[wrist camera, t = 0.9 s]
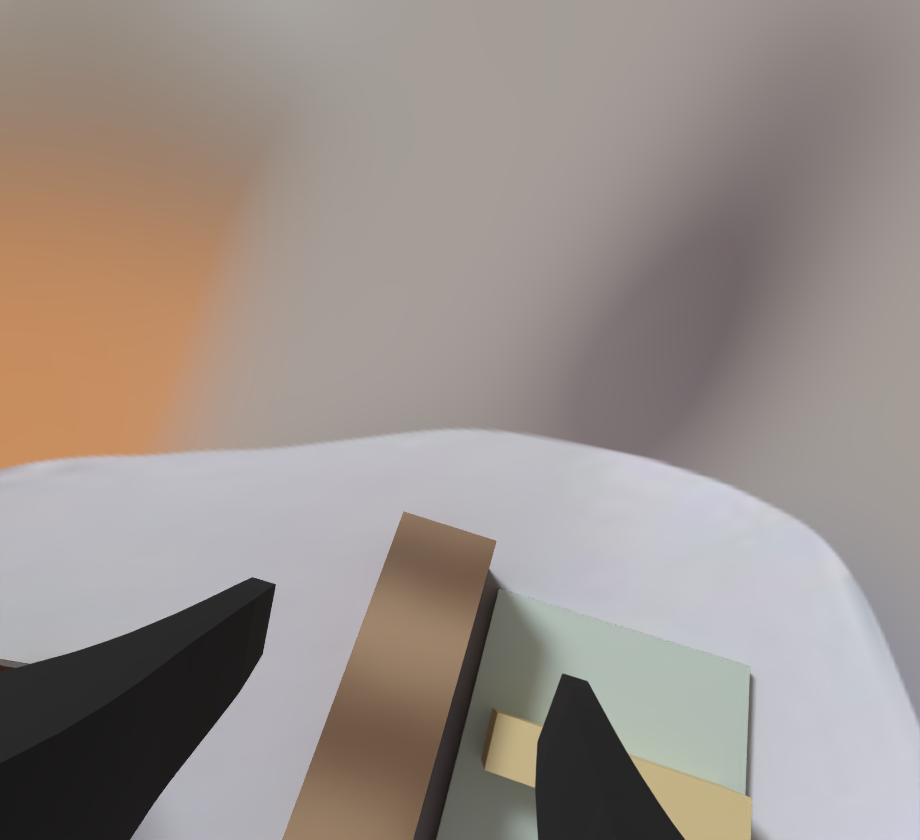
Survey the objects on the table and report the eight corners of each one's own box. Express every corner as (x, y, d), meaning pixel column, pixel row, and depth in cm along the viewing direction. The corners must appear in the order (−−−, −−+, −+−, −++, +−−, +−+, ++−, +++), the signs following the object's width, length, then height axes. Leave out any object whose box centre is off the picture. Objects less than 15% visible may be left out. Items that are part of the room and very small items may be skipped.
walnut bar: (369, 979, 19) (339, 1103, 14) (272, 938, 20) (207, 1042, 14) (485, 566, 26) (496, 540, 20) (412, 542, 26) (403, 511, 21)
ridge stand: (728, 1009, 19) (775, 1066, 16) (422, 892, 20) (418, 927, 17) (743, 665, 24) (780, 666, 21) (498, 590, 25) (504, 580, 22)
